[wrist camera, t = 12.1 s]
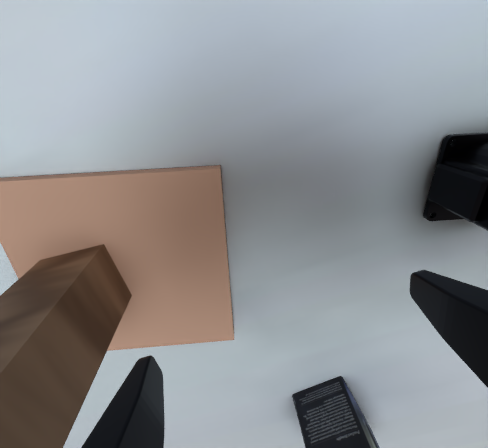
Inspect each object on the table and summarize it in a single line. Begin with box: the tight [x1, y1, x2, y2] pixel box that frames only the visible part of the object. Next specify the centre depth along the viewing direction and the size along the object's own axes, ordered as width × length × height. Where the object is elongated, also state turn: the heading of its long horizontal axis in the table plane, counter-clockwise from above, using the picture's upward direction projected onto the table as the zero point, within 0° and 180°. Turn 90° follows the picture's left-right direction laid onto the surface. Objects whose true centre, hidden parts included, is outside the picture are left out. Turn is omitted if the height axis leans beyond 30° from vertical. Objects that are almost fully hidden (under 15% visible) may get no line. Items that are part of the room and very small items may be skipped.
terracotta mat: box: [0, 165, 234, 351], centre depth 22 cm, size 16×16×1 cm
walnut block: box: [0, 244, 132, 448], centre depth 15 cm, size 5×5×13 cm
